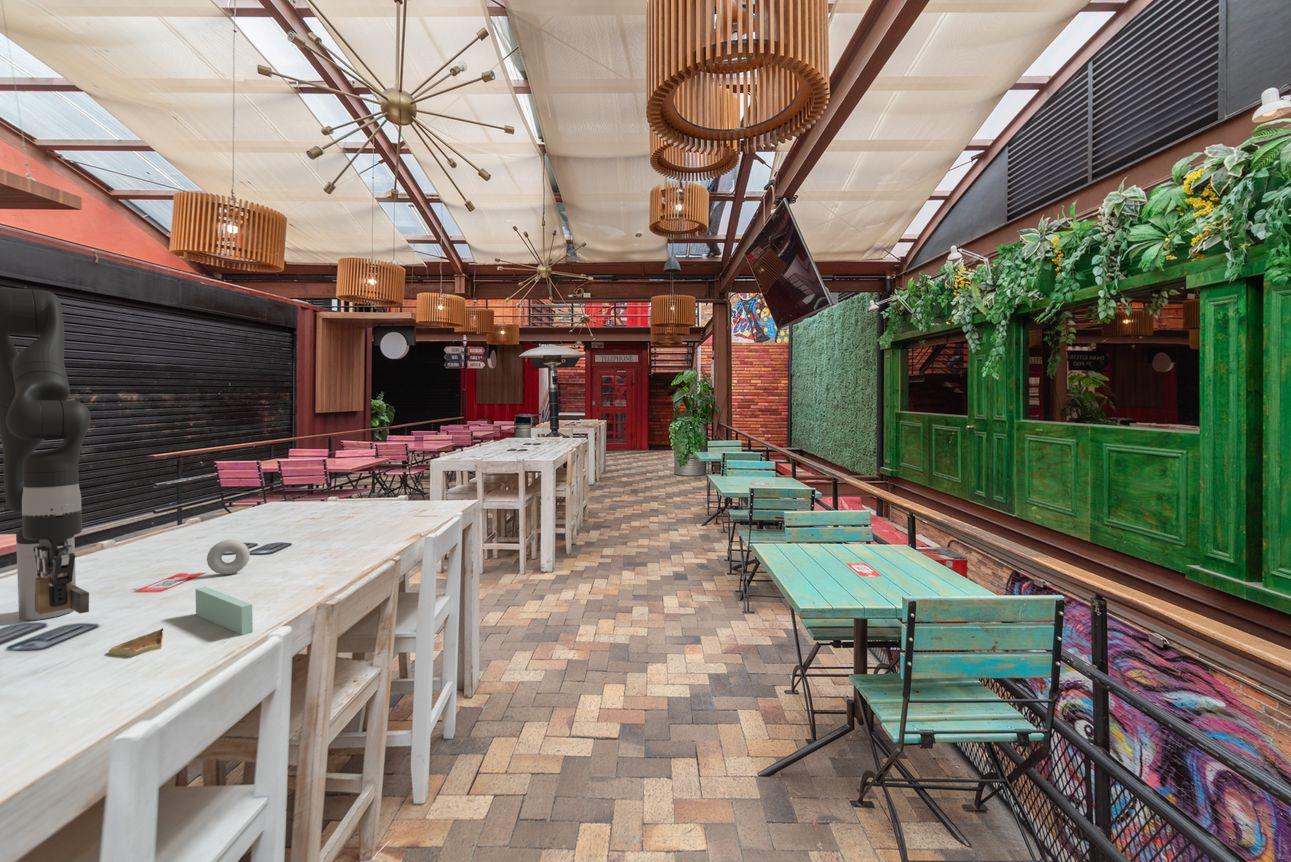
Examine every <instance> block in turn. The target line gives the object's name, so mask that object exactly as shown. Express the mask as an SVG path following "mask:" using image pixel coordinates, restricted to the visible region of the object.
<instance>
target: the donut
mask: <svg viewBox="0 0 1291 862" xmlns="http://www.w3.org/2000/svg"><path fill="white" fill-rule="evenodd" d="M227 552H232V553H234V555H235V558H234V559H233V561H231V562H225V561H224V560H223V558H222V557H223V555H224V554H225V553H227ZM250 556H251V554H250V549H249V547H248V546H247V545H246V544H245V543H244V542H242V541H241V540H238V539H237V540H236V539H225V540H221V541H219V542H218V543H215V544H214V545H213V546H212V547H211V548H210V549H209V551H208V552H207V556H206V562H207V565H208V568H210V570H211V571H213V572H214V573H216V574H219V575H231V574H232V575H233V574H236V573H238V572H240V571H242V570H243V569H244V568H245V567H246V566H247V565H248V562H249V561H250Z"/></svg>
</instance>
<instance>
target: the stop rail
mask: <svg viewBox="0 0 1291 862" xmlns="http://www.w3.org/2000/svg"><path fill="white" fill-rule="evenodd" d="M195 615H196V616H198V617H201V618H203V619H205V620H208V621H210V622H212V623H215V624H216V625H218V626H221V627H223V628H226V629H228V630H230V631H232V632H234V633H237V634H239V635H242V636H243V635H247V634H251V633H253V632H254V631H253V630H254V629H253V628H254V627H253V604H252V603H249V602H247V601H245V600H241V599H239V598H236V597H233V596H231V595H229V594H226V593H223V592H220V591H218V590H215V589H213V588H211V587H207V586H202V587H199V588H198V587H197V588H195Z"/></svg>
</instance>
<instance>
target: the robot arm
mask: <svg viewBox="0 0 1291 862" xmlns="http://www.w3.org/2000/svg"><path fill="white" fill-rule="evenodd" d="M63 313H64V311H63V307H62V304H61V301H60V299H59V297H58V296H57V295H56V294H55V293H54V292H51V291H47V290H41V289H31V288H30V289H29V288H28V289H27V288H16V287H15V288H14V287H0V439H1V440H0V441H1V447H2V454H3V455H2V456H3V458H2V459H3V485H4V486H3V488H4V498H5V503H6V505H7V507H8V509H9V510H10V511H13V512H14V513H15V512H17V513H18V512H19V513H20V512H21V518H22V521H21V522H22V528H20V529H18V530H17V531H16V534H15V539H16V541H15V542H16V565H17V567H16V570H17V571H16V572H17V597H18V599H17V601H18V603H17V604H18V619H20V620H21V621H35V620H43V619H44V620H45V619H50V618H54V617H60V616H63V615H66V614H69V613H71V612H75V611H74V610H73V609H71V608H70V609H65V610H60V611H54V612H49V613H44V614H39V613H37V612H35V578H38V577H45V576H48V585H49V605H50V606H51V607H57V606H62V605H65V604H67V584H68V583H69V582H71V584H73V585H75V586H77V582H76V581H77V580H76V552H75V551H76V549H75V536H76V535H79V534H80V533H82V532H83V520H82V519H83V518H82V517H83V516H82V512H83V511H82V494H81V490H80V483H79V481H80V479H79V476H80V475H79V461H80V455H81V450H82V447H83V443H84V440H85V437H86V435H87V433H88V430H89V427H90V424H91V418H92V417H91V413H90V410H89V409H88V407H87V406H86V405H85V404H84V403H82V402H81V401H78V400H71V399H70V400H68V398H69V396H70V395H71V388H70V384H69V378H68V375H67V371H66V365H65V345H66V344H65V343H66V342H65V321H64V314H63ZM11 335H12V336H13V335H14V336H15V335H16V336H18V335H20V336H39V337H38V338H37V339H36V340H34V341H33V342H32V343H31V344H29V345H28V346H27V347H26V348H25V349H23V350H22V351H21V352H19V351H18V349H17V348H16V345H14V343H13V341H12V339H11V338H10V336H11ZM59 439H62V440H63V441H62V443H61V444H60V445H59V446H58V447H56V448H54V449H51V450H47V451H46V450H45V451H41V452H40V451H39V452H35V451H36V450H37V448H38V447H39V446H40V445H41V444H42V443H43V442H44V441H45V440H59ZM59 574H63V577H58V575H59Z"/></svg>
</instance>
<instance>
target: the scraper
mask: <svg viewBox="0 0 1291 862" xmlns="http://www.w3.org/2000/svg"><path fill="white" fill-rule="evenodd" d="M58 577H63V574H59V575H58ZM70 608H71V609H73V610H74V611H73V612H76V613H78V614H84V613H90V592H89V591H87V590H85V589H83V588H80V587H79V586H77V585H76V586H75V585H73V584H71V582H69V583H68V584H67V604H65V605H62V606H57V607H51V606H50V605H49V585H48V576H45V577H38V578H35V612H37V613H39V614H44V613H49V612H54V611H60V610H65V609H70Z"/></svg>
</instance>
